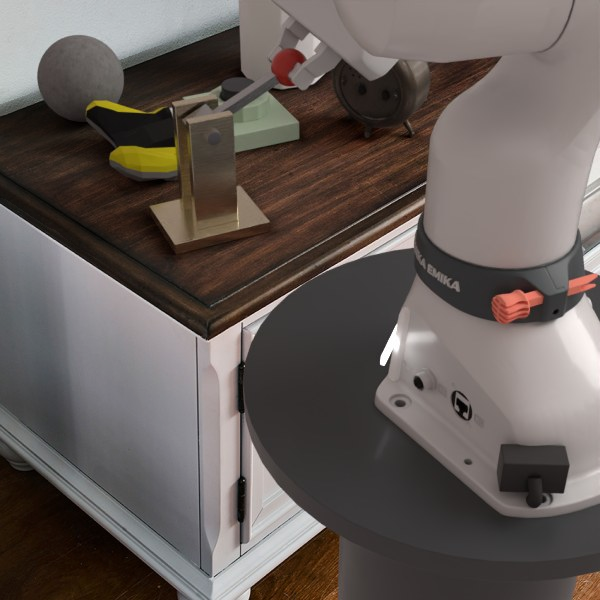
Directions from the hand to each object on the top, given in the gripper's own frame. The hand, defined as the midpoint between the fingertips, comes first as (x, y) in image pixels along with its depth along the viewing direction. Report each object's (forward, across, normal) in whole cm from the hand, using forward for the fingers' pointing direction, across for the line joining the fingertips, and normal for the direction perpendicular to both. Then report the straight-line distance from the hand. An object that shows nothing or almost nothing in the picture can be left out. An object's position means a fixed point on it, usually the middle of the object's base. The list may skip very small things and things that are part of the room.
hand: (284, 74), depth 99 cm
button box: (+8, -19, +12) cm, 24 cm away
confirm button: (+6, -19, +10) cm, 22 cm away
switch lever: (+4, 0, 0) cm, 4 cm away
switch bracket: (+16, 0, +4) cm, 17 cm away
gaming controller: (+18, -15, +3) cm, 24 cm away
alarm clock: (-1, -11, +22) cm, 25 cm away
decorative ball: (+20, -29, +1) cm, 35 cm away
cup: (+1, -31, +20) cm, 37 cm away
